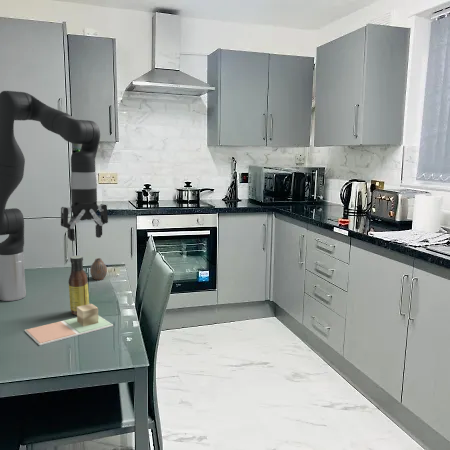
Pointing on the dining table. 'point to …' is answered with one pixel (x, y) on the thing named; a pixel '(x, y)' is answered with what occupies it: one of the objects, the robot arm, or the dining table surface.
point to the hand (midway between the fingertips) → (85, 238)
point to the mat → (64, 330)
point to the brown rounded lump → (98, 269)
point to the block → (87, 314)
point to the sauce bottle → (77, 284)
